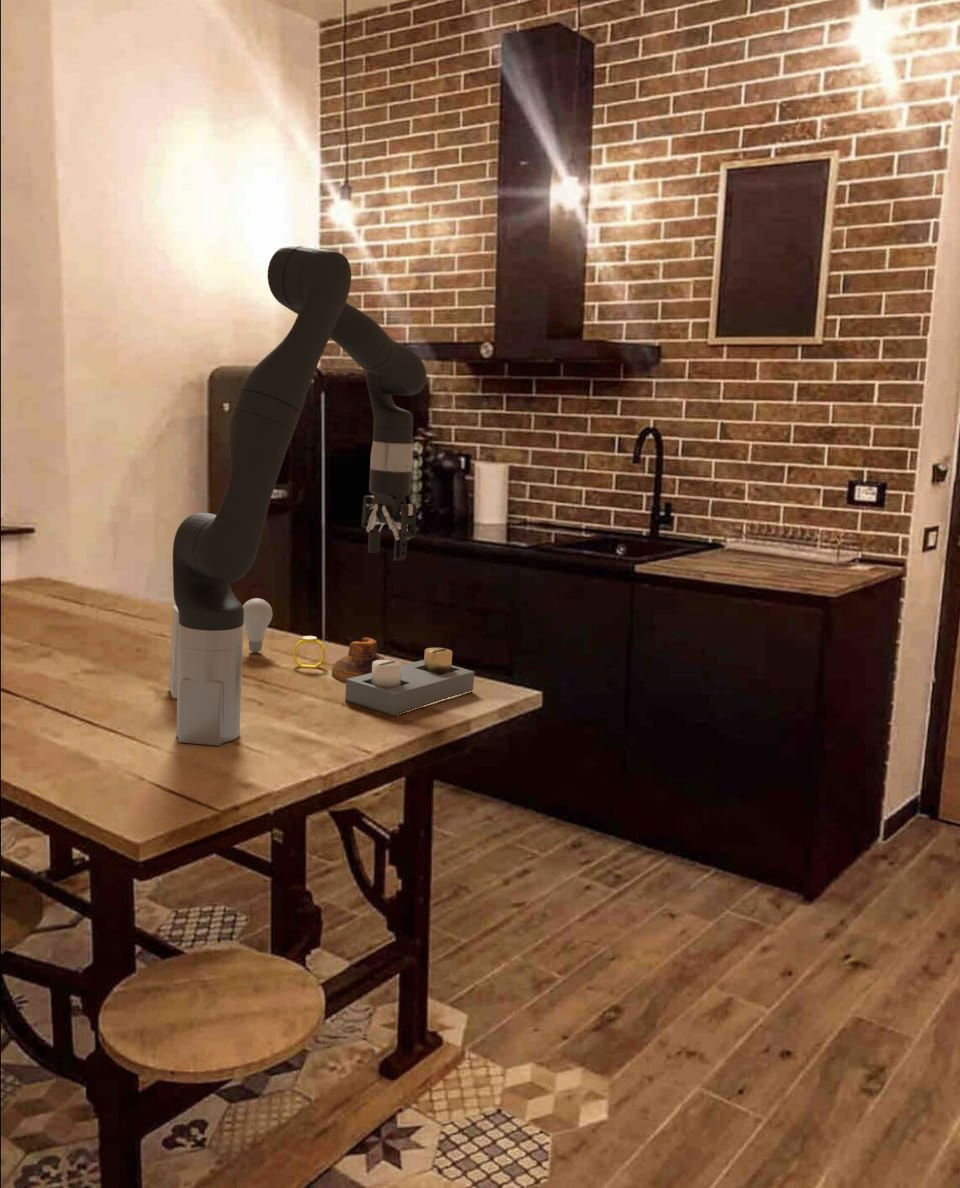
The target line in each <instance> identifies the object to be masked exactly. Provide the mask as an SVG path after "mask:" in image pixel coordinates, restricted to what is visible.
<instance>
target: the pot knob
mask: <svg viewBox="0 0 960 1188" xmlns="http://www.w3.org/2000/svg"><path fill="white" fill-rule="evenodd" d="M402 665H403V664H402V662H400V661H397V660H392V659H386V660H376V661H373V663H372V680H371V684H372V685H375V686H378V687H381V688H385V689H391V688H394V687H398V686H400V685H401V670H402Z"/></svg>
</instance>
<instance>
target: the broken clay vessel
mask: <svg viewBox="0 0 960 1188" xmlns="http://www.w3.org/2000/svg"><path fill="white" fill-rule="evenodd" d="M377 643H378V642H377V640H375V639H373V638H370V637H362V638H361V641H352V642H351V643H350V644H349V649H348V653H347V655H345V656H343V657H340V659H338V660H337V661H336V662H334V663H333V665H332V668H331V674H332V676H333V678H335V679H336V680H338V681H341V682H344V683H346V679H349V678H353V677H357V676H361V675H365V674H369V673H372V663H373V661H376V660H387V659H386V658H384V657H383V656H381V655H379V654H377V651H378V650H377V648H378V647H377V646H378V644H377Z"/></svg>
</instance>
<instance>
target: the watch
mask: <svg viewBox="0 0 960 1188" xmlns="http://www.w3.org/2000/svg"><path fill="white" fill-rule="evenodd" d="M303 643H309V644H310V643H312V644H313V643H315V644H317V645H318V646H319V647H320V648H321V650H322V657H321V659H320V661H319V662H317V663H316V664H302V663H301V662H300V661H299V660H298V657H297V655H296V653H297V652H296V651H297V648H298V647H299V646H300V645H301V644H303ZM292 653H293V654H292V657H293V660H294V662H295V664H296V665H297V666H298V667H299V668H304V669H317V668H319V667H320V666H321V665H322V664H323V662H324V660H325V658H326V648H325V647H324V645H323V642H322V641H320V640H318V637H317V636H314V635H304V636H302V638H301V639H300V640H299V641H297V643H296V644H295V645H294V647H293V651H292Z"/></svg>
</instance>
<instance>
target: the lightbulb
mask: <svg viewBox="0 0 960 1188" xmlns="http://www.w3.org/2000/svg"><path fill="white" fill-rule="evenodd" d="M242 606H243V609H244V623H243V626H244V627H245V630H246V634H247V641H248V650H249V651H250V652H252V654H253V653H254V654H257V653H259V652H260V651H262V650H263V649H262V648H263V641H264V639H265V634H266V630H267V628H268V626H270V623H271V621H272V619H273V613H274V612H273V609H272V606H271V605H270V603H269V602H267V601H266V600H265V599H263V598H257V597H255V598H250V599H249V600H247V601H246V602H244V604H243V605H242Z"/></svg>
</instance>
